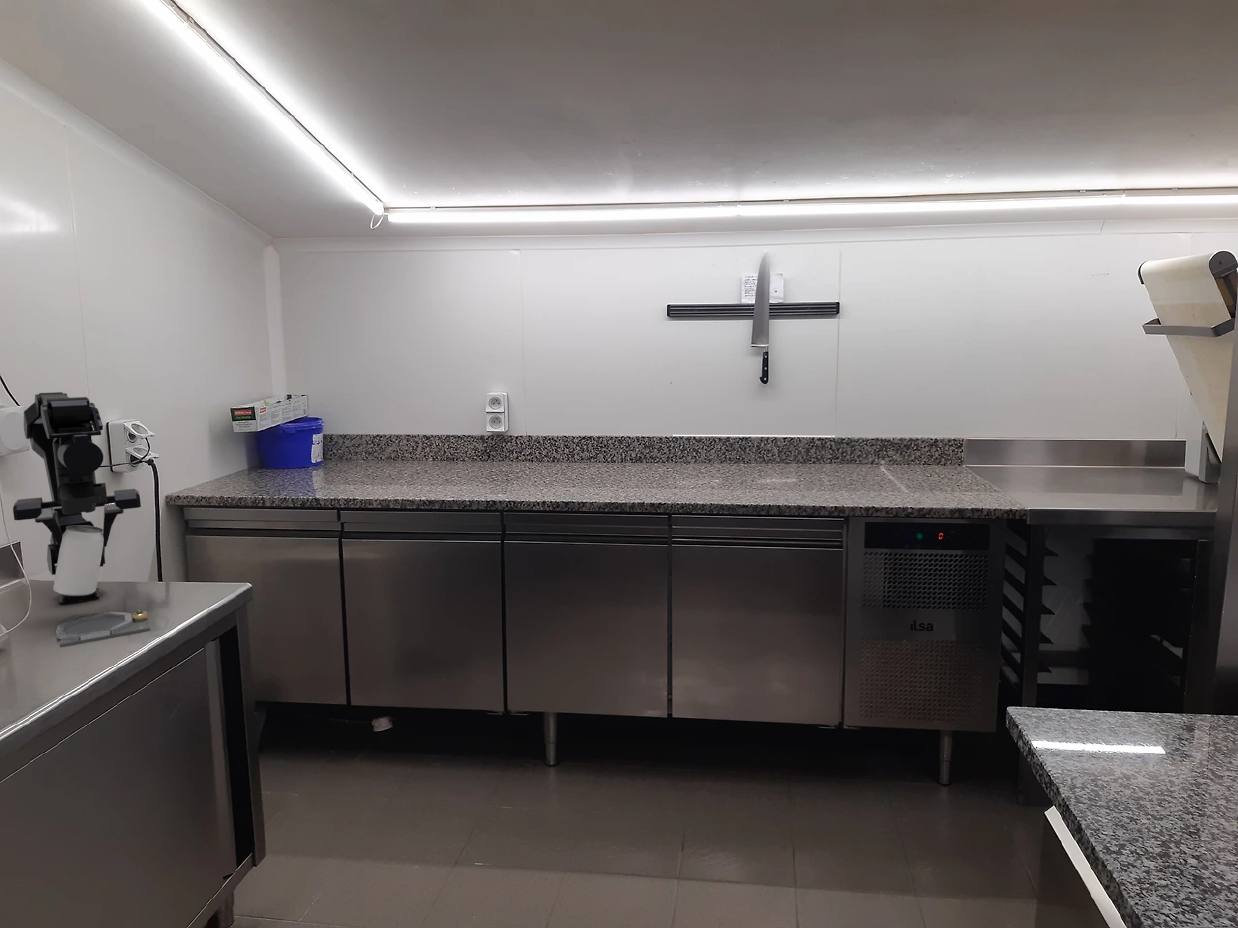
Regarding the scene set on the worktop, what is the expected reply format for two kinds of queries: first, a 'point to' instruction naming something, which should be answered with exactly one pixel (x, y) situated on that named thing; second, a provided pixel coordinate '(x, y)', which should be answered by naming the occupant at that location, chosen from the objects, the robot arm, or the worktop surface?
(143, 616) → the brass round knob
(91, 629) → the carrier plate
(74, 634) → the socket
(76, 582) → the can
